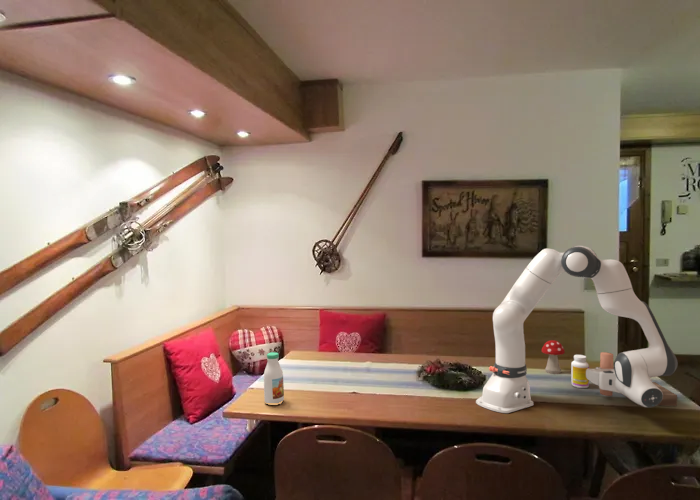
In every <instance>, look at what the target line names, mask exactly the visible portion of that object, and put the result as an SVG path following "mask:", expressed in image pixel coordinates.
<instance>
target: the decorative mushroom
mask: <svg viewBox="0 0 700 500" xmlns="http://www.w3.org/2000/svg"><path fill="white" fill-rule="evenodd" d="M565 352H566V351H565V348H564V346H563V345H562V343H561V342H559V341H558V340H555V339H554V340H553V339H551V340H547V341H546V342H545V343H543V346H542V347H541V353H543V354H545V355H548V358H547V363H546V367H545V368H544V369H545V372H546V373H547V374H551V375H558V374H561V372H562V369H561V366H560V362H559V357H558V356H561V355H564V354H566V353H565Z"/></svg>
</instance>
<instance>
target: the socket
mask: <svg viewBox="0 0 700 500" xmlns="http://www.w3.org/2000/svg"><path fill="white" fill-rule="evenodd" d="M652 383H653V384H654V385H656V386H657V387H658V388H659V389H660V390H661V391H662V393H663V399H662V401H661V402H660V403H659V404H658V405H657V406H673V407H674V406H676V407H677V406H678V395H677V394H676V393H674V392H672V391H671V390H669V389H667V388H666V387H664V386H662V385H661V384H659V383H657V382H656V381H652ZM623 396H624V397H626V398H627V399H628V400H630V401H631V402H632V403H633V404H635V405H637V406H640V405H639V404H637V403H635V402H634V401H632V400H631V399H629V398H628V397H627V396H625V395H623Z"/></svg>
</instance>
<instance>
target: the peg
mask: <svg viewBox="0 0 700 500" xmlns="http://www.w3.org/2000/svg"><path fill="white" fill-rule="evenodd" d="M599 358H600V359H599V361H600V362H599V367H601V368H602V369H613V367H614V353H611V352H605V351H604V352H603V351H602V352H600V357H599ZM599 394H600V395H602V396H605V397H612V396H613V394H614V391H607V390H602V389H600V388H599Z"/></svg>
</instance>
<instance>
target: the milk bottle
mask: <svg viewBox="0 0 700 500" xmlns="http://www.w3.org/2000/svg"><path fill="white" fill-rule="evenodd" d="M279 355H280V354H279V352H272V351H271V352H269V353H267V354H266V360H267V363H266V366H265V369H264V372H263V391H264V392H263V394H264V396H263V397H264V403H265V402H266V403H279V402H281V401H283V400H284V401H285V394H284V393H285V391H284V387H285V385H284V374H283V369H282V367H281V365H280V361H279V358H280V357H279Z"/></svg>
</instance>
